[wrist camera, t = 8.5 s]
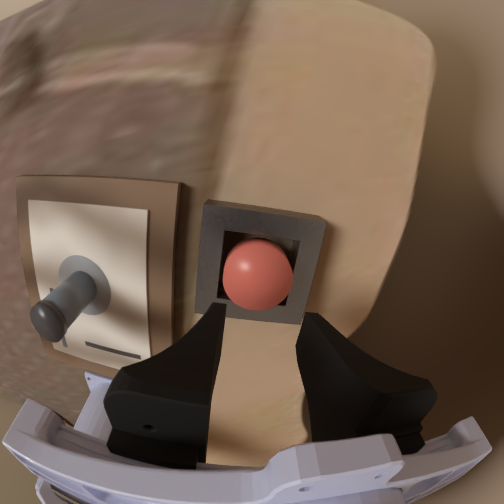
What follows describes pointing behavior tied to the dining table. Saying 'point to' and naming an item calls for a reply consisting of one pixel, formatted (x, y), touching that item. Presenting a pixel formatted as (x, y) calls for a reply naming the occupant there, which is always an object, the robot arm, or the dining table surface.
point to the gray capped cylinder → (63, 306)
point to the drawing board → (103, 262)
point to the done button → (257, 274)
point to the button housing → (267, 224)
